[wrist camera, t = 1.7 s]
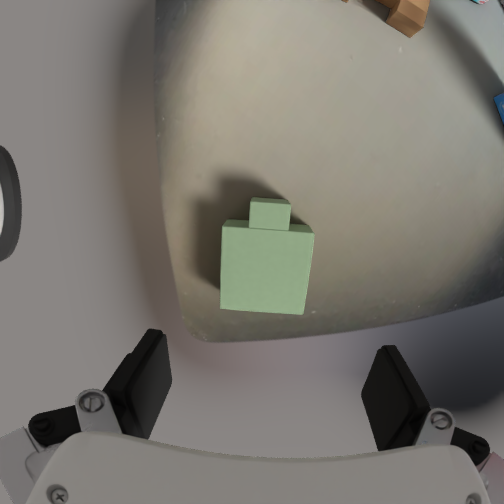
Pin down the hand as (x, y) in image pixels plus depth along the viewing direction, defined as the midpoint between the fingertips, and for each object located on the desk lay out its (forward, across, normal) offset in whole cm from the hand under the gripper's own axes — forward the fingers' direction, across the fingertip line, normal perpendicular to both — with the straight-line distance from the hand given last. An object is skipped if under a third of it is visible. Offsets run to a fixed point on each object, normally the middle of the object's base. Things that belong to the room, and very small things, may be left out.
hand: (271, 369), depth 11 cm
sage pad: (+14, +1, 0) cm, 14 cm away
